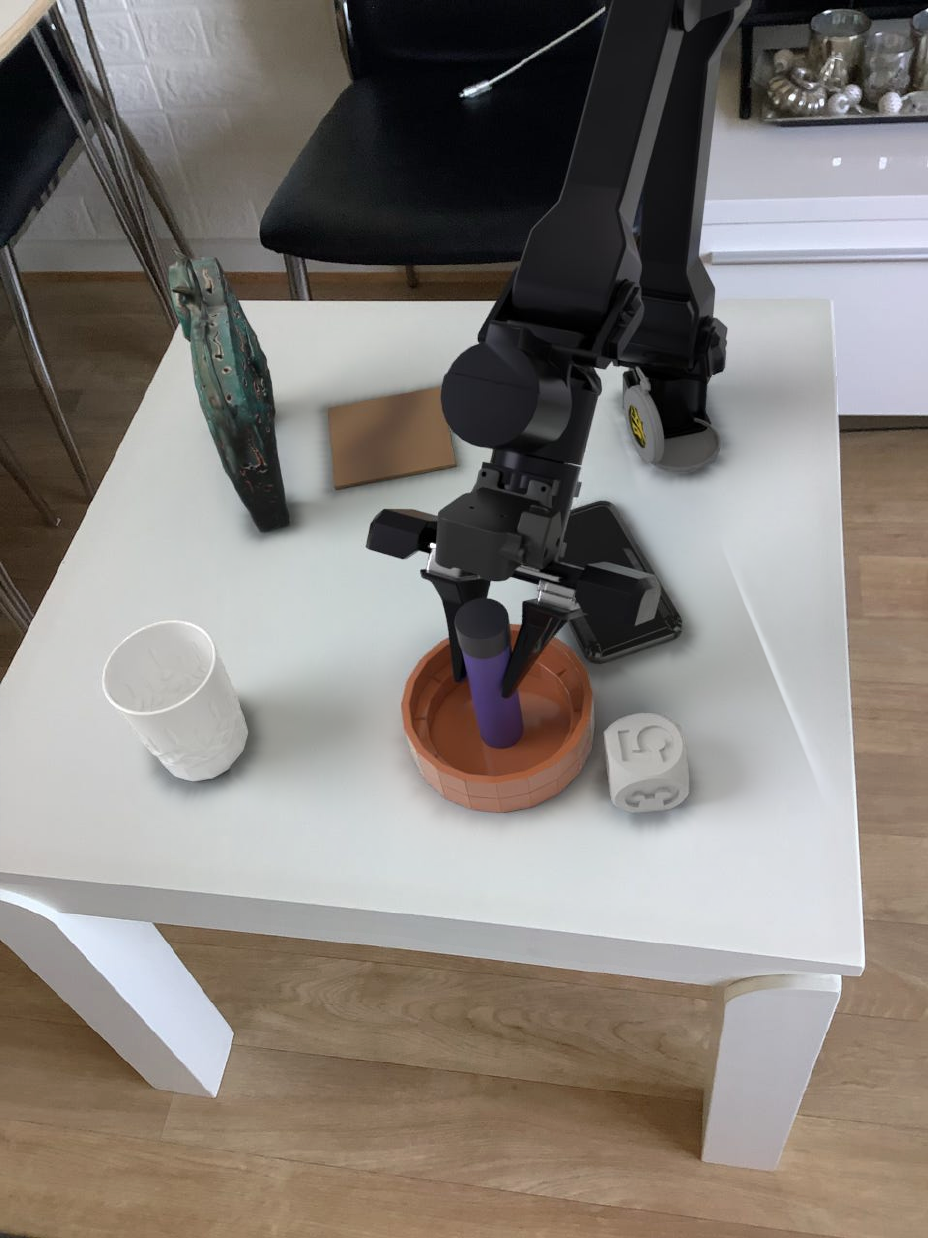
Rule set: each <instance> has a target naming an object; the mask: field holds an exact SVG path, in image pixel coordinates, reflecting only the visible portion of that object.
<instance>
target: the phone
mask: <svg viewBox="0 0 928 1238" xmlns="http://www.w3.org/2000/svg"><path fill="white" fill-rule="evenodd" d="M563 542H564V543H567V545H566V549H565V553H564V557H563V558H560V559H559V560H558V561H560V562H563V563H567V564H571V565H574V566H578V567H581V568H585V567H586V565H587V564H594V563H601V562H609V563H612V564H616V565H620V566H623V567H627V568H631V569H634V570H638V571H642V572H645V573H649V574H653V575H656V572H655V571H654V569H653V568H652V566H651V565H650V563H649V561H648V559H647V557H646V556H645V554H644V553H643V551H642V549H641V548H640V546H639V544H638V542H637V541H636V539H635V537H634V536H633V534H632V532H631V530H630V529H629V528H628V525H627V524H626V523H625V521H624V519H623V517H622V516H621V513H620V512H619V511H618V508H617V507H616V506H615V504H613V503H612V502H611V501H608V500H598V501H594V502H591V503H588V504H584V505H582V506H578V507H575V508H571V511H570V515H569V519H568V523H567V527H566V531H565V535H564V539H563ZM656 577H657V579H658V581H659V584H660V586H661V595H660V598H659V602H658V606H657V610H656V614H655V617H654V619H652V620H649V621H646V622H644V623H641V624H638V625H636V626H632V625H625V624H621V623H618V622H614V621H611V620H607V619H604V618H601V617H597V616H594V615H590V614H588V615H584V616H581V617H577V618H574V619H570V620H568V621H567V622H566V623H567V624H568V627H569V628H570V630H571V632H572V634H573V636H574V638H575V640H576V641H577V645H578V646H579V648H580V650H581V652H582V654H583V656H584V657H585V659H586V660H587V661H589V662H590V663H592V664H597V665H598V664H599V665H600V664H601V665H602V664H605V663H608V662H611V661H614V660H617V659H621V658H624V657H626V656H629V655H632V654H635V653H639V652H641V651H644V650H647V649H650V648H653V647H655V646H659V645H662V644H665V643H668V642H671V641H673V640H676V639H677V638H679V637H680V635H681V633H682V630H683V620H682V616H681V615H680V614H679V611H678V610H677V608H676V607H675V605H674V603H673V601H672V600H671V598H670V596H669V595H668V594H667V592H666V590H665V588H664V587H663V585H662V583H661V582H660V580H659V578H658V576H657V575H656Z"/></svg>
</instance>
